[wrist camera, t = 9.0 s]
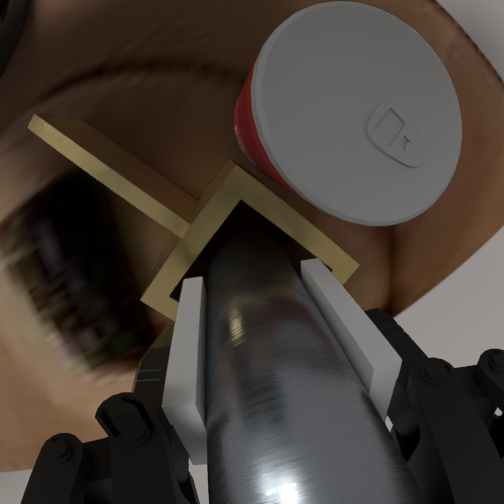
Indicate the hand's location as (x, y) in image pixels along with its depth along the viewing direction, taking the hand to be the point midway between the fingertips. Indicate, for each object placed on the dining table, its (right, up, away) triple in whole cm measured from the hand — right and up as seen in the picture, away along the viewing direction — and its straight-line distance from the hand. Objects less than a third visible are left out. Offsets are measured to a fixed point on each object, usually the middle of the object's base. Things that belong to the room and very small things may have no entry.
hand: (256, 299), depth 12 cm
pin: (0, +1, +3) cm, 3 cm away
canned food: (+3, +10, +6) cm, 12 cm away
